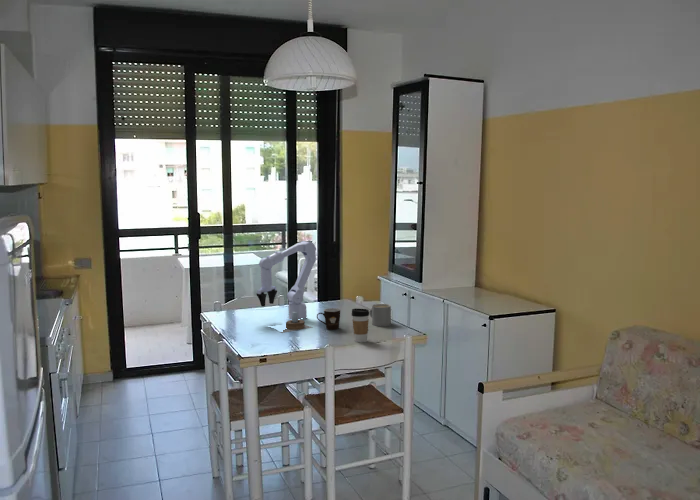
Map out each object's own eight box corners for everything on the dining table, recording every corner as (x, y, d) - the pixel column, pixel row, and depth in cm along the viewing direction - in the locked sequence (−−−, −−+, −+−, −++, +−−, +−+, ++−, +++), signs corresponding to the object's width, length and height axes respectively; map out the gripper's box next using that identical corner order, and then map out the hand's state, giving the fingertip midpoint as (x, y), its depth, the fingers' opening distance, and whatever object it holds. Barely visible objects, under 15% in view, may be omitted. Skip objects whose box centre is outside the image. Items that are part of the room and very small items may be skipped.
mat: (296, 321, 314) (296, 321, 314) (312, 328, 299) (312, 327, 299) (266, 326, 304) (266, 326, 304) (282, 333, 289) (282, 332, 289)
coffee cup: (351, 338, 276) (350, 307, 274) (368, 337, 277) (368, 307, 275) (352, 343, 268) (352, 311, 266) (370, 342, 268) (370, 310, 267)
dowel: (296, 326, 302) (295, 311, 301) (299, 327, 300) (298, 312, 299) (291, 327, 300) (290, 312, 299) (294, 328, 298) (293, 313, 297)
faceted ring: (298, 324, 306) (298, 319, 306) (307, 327, 299) (307, 322, 298) (283, 327, 301) (283, 321, 301) (292, 330, 294) (291, 324, 293)
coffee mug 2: (394, 324, 303) (394, 306, 302) (378, 327, 298) (378, 308, 297) (380, 320, 314) (380, 302, 313) (365, 322, 309) (364, 304, 308)
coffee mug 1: (343, 327, 299) (342, 308, 298) (337, 331, 291) (337, 312, 290) (322, 326, 303) (322, 307, 301) (316, 330, 294) (315, 310, 293)
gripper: (268, 277, 319) (269, 301, 320) (252, 281, 306) (253, 306, 308) (278, 278, 315) (279, 302, 317) (262, 282, 303) (263, 307, 304)
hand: (267, 304), depth 312 cm, fingers open, 7 cm apart
